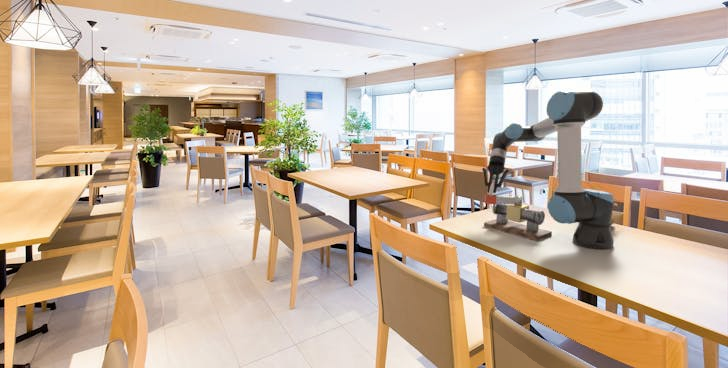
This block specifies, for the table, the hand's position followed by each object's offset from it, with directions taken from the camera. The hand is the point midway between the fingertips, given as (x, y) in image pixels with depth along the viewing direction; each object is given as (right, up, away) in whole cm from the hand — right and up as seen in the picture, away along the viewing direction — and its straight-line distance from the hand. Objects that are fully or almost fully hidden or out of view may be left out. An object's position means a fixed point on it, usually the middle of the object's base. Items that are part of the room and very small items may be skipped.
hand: (490, 197), depth 188 cm
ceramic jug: (+54, -14, +6) cm, 56 cm away
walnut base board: (+11, -16, -3) cm, 20 cm away
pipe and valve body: (+11, -14, -3) cm, 18 cm away
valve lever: (+5, -3, -4) cm, 7 cm away
